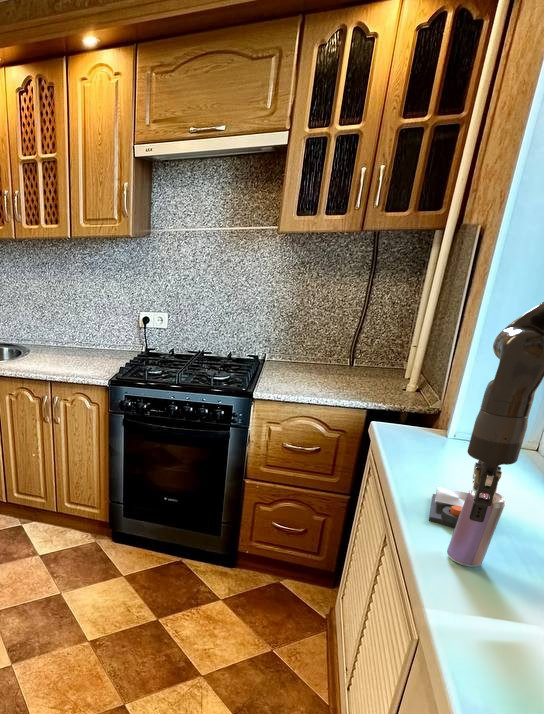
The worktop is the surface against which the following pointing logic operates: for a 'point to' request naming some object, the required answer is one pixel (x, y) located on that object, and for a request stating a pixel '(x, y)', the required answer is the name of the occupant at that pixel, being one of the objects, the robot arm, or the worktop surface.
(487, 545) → the beverage can
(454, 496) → the scale pan
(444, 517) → the scale
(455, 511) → the button
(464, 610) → the worktop surface
